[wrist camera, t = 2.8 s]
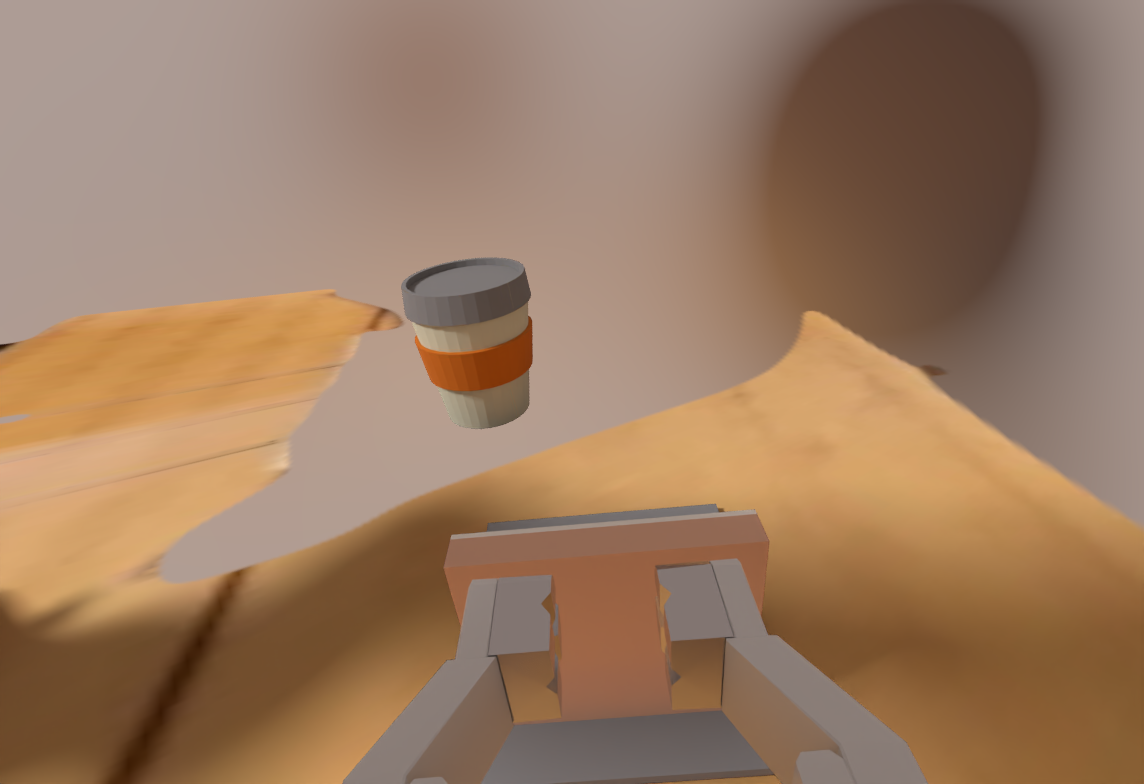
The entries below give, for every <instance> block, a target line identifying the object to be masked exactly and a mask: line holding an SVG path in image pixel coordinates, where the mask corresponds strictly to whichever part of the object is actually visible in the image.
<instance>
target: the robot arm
mask: <svg viewBox="0 0 1144 784" xmlns="http://www.w3.org/2000/svg"><path fill="white" fill-rule="evenodd" d="M655 585H656V590H657V596H656V597H655V600H656V615H657V626H658V632H659V639H660V645H661V651H662V652H663V653H664V654H665V674H666V679H667V685H668V690H669V695H670V701H671V706H672V710H683V709H706V708H722V712H723V713H724V714H725V715H726V716H727V718H728V719H729V720H730V721H731V722H732V724H733V725H734V726H735V727H736V728H737V730H738V731H739V732H740V733H741V735H742V736H743V737H744V738H745V739H746V741H747V742H748V743H749V744H750V745H751V747H752V748H753V749H754V750H755V751H756V753H757V754H758V755H759V756H760V757H761V759H762V760H763V761H764V762H765V764H766V765H767V766H768V767H769V768H770V770H771V771H772V772H773V773H774V774H775V776H776V777H777V778H778V779H779V780H780V782H781V783H782V784H928V783H927V781H926V779H925V777H924V775H923V773H922V771H921V769H920V767H919V765H918V764H917V762H916V760H915V758H914V756H913V754H912V752H911V750H910V748H909V746H908V744H907V743H906V742H905V741H904V740H903V739H902V738H901V737H899V736H898V735H897V734H896V733H895V732H893V731H892V730H891V729H890V728H888V727H887V726H886V725H885V724H884V723H882V722H881V721H880V720H879V719H878V718H876V717H875V716H874V715H873V714H872V713H870V712H869V711H868V710H867V709H866V708H864V707H863V706H862V705H861V704H860V703H858V702H857V701H856V700H855V699H854V698H852V697H851V696H850V695H849V694H848V693H846V692H845V691H844V690H843V689H841V688H840V687H839V686H838V685H837V684H835V683H834V682H833V681H832V680H831V679H829V678H828V677H827V676H826V675H825V674H823V673H822V672H821V671H820V670H819V669H817V668H816V667H815V666H814V665H813V664H811V663H810V662H809V661H808V660H807V659H805V658H804V657H803V656H802V655H801V654H799V653H798V652H797V651H796V650H794V649H793V648H792V647H791V646H790V645H788V644H787V643H786V642H785V641H784V640H782V639H781V638H780V637H779V636H778V635H768V633H767V631H766V628H765V626H764V623H763V620H762V618H761V615H760V612H759V610H758V607H757V605H756V602H755V599H754V597H753V594H752V591H751V589H750V586H749V584H748V581H747V578H746V576H745V573H744V570H743V568H742V565H741V563H740V561H739V560H738V559H737V558H736V559H724V560H713V561H709V562H708V561H699V562H689V563H678V564H667V565H657V566H655ZM555 595H556V588H555V583H554V578H553V575H539V576H521V577H503V578H492V579H476V580H472V582H471V584H470V586H469V588H468V593H467V598H466V604H465V609H464V614H463V619H462V625H461V630H460V635H459V641H458V646H457V651H456V656H455V659H454V660H446V662H445V663H444V664H443V665H442V666H441V667H440V669H439V670H438V671H437V672H436V673H435V674H434V676H433V677H432V678H431V679H430V680H429V681H428V683H427V684H426V685H425V686H424V687H423V688H422V690H421V691H420V692H419V693H418V694H417V695H416V697H415V698H414V699H413V700H412V701H411V702H410V704H409V705H408V706H407V707H406V708H405V709H404V711H403V712H402V713H401V714H400V715H399V716H398V718H397V719H396V720H395V721H394V722H393V723H392V725H391V726H390V727H389V728H388V729H387V730H386V732H385V733H384V734H383V735H382V736H381V737H380V739H379V740H378V741H377V742H376V743H375V744H374V746H373V747H372V748H371V749H370V750H369V751H368V753H367V754H366V755H365V756H364V757H363V758H362V760H361V761H360V762H359V763H358V764H357V765H356V767H355V768H354V769H353V770H352V771H351V772H350V774H349V775H348V776H347V777H346V778H345V779H344V781H343V784H481V782H482V780H483V779H484V777H485V775H486V774H487V772H488V770H489V768H490V767H491V765H492V763H493V761H494V760H495V758H496V756H497V754H498V753H499V751H500V749H501V748H502V746H503V744H504V742H505V741H506V739H507V737H508V735H509V734H510V732H511V730H512V728H513V727H514V725H513V723H518V722H528V721H537V720H547V719H557V718H562V680H561V673H560V667H559V661H560V660H561V659H562V641H561V623H560V614H559V607H558V605H557V604H556V603H555Z"/></svg>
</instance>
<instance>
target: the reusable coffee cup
mask: <svg viewBox="0 0 1144 784" xmlns="http://www.w3.org/2000/svg"><path fill="white" fill-rule="evenodd" d="M401 288H402V295H403V302H404V310H405V315H406V316H407V319H409V320H410V321H411V322H412V324H413V327H414V329H415V332H416V334H417V335H416V337H415V343H416V345H417V348H418V350H419V353H420V355H421V357H422V360H423V363H424V365H425V368H426V370H427V373H428V375H429V377H430V380H431V381H432V383H434V384H435V385H436V386H437V387H438V389H439V392H440V394H441V396H442V399H443V402H444V404H445V407H446V409H447V411H448V414H449V417H450V419H451V420H452V421H453V422H454V423H455V424H457V425H459V426H462V427H465V428H471V429H484V428H492V427H496V426H500V425H503V424H506V423H509V422H511V421H513V420H515V419H516V418H518V417H519V416H520V415H522V414H523V413H524V412H525V411H526V410H527V408H528V406H529V368H530V367H531V364H532V357H533V355H532V320H531V318H530V317H529V316H528V301H529V299H530V296H531V292H530V288H529V284H528V280H527V276H526V272H525V268H524V266H523V264H521V263H520V262H518V261H515V260H511V259H505V258H475V259H465V260H458V261H453V262H448V263H443V264H439V265H436V266H433V267H429V268H426V269H423V270H421V271H419V272H416V273H414V274H413V275H411V276H409V277H408V278H407V279H405V280H404V281H403V283H402V286H401Z"/></svg>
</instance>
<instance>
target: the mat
mask: <svg viewBox="0 0 1144 784" xmlns="http://www.w3.org/2000/svg"><path fill="white" fill-rule="evenodd" d="M718 512H719V511H718V508H717V506H716V504H708V505H697V506H685V507H673V508H661V509H649V510H637V511H625V512H614V513H602V514H590V515H578V516H566V517H554V518H542V519H531V520H519V521H507V522H495V523H488V527H487V532H492V531H504V530H516V529H528V528H539V527H551V526H563V525H575V524H587V523H599V522H611V521H623V520H635V519H647V518H659V517H671V516H683V515H695V514H707V513H718ZM763 775H775V774H774V773H773V772H772V771H771V770H770V768H769V767H768V766H767V765H766V764H765V762H764V761H763V760H762V759H761V757H760V756H759V755H758V754H757V753H756V751H755V750H754V749H753V748H752V747H751V745H750V744H749V743H748V742H747V741H746V739H745V738H744V737H743V736H742V735H741V733H740V732H739V731H738V730H737V728H736V727H735V726H734V725H733V724H732V722H731V721H730V720H729V719H728V718H727V716H726V715H725V714H724V713H723V712H722V710H719V711H705V712H691V713H677V714H663V715H650V716H636V717H622V718H608V719H594V720H580V721H566V722H552V723H538V724H524V725H514V727H513V728H512V730H511V732H510V734H509V735H508V737H507V739H506V741H505V742H504V744H503V746H502V748H501V749H500V751H499V753H498V754H497V756H496V758H495V760H494V761H493V763H492V765H491V767H490V768H489V770H488V772H487V774H486V775H485V777H484V779H483V780H482V782H481V784H645V783H660V782H675V781H689V780H704V779H719V778H734V777H748V776H763Z"/></svg>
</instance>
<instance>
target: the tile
mask: <svg viewBox="0 0 1144 784" xmlns="http://www.w3.org/2000/svg"><path fill="white" fill-rule="evenodd" d="M768 549H769V539H768V537H767V535H766V533H765V531H764V528H763V526H762V524H761V522H760V519H759V517H758V515H757V513H756V511H755V509H754V510H742V511H730V512H718V513H707V514H695V515H683V516H671V517H659V518H647V519H635V520H623V521H611V522H599V523H587V524H575V525H563V526H551V527H539V528H528V529H516V530H504V531H492V532H480V533H468V534H456V535H451V539H450V543H449V547H448V551H447V555H446V559H445V563H444V567H443V568H444V572H445V575H446V579H447V582H448V585H449V589H450V592H451V596H452V599H453V602H454V606H455V609H456V613H457V616H458V619H459V623H460V626H461V625H462V619H463V614H464V609H465V604H466V598H467V593H468V588H469V586H470V584H471V582H472V580H476V579H492V578H503V577H521V576H539V575H553V578H554V583H555V588H556V595H555V603H556V604H557V605H558V607H559V614H560V623H561V641H562V659H561V660H560V661H559V667H560V673H561V680H562V718H557V719H547V720H537V721H528V722H518V723H513V725H524V724H538V723H552V722H566V721H580V720H594V719H608V718H622V717H636V716H650V715H663V714H677V713H691V712H705V711H719V710H722V708H706V709H683V710H672V706H671V701H670V695H669V690H668V685H667V679H666V674H665V654H664V653H663V652H662V651H661V645H660V639H659V632H658V626H657V615H656V600H655V597H656V596H657V590H656V585H655V566H657V565H667V564H678V563H689V562H699V561H708V562H709V561H713V560H724V559H736V558H737V559H738V560H739V561H740V563H741V565H742V568H743V570H744V573H745V576H746V578H747V581H748V584H749V586H750V589H751V591H752V594H753V597H754V599H755V602H756V605H757V607H758V610H759V612H760V615H762V606H763V596H764V587H765V577H766V568H767V559H768Z"/></svg>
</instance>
